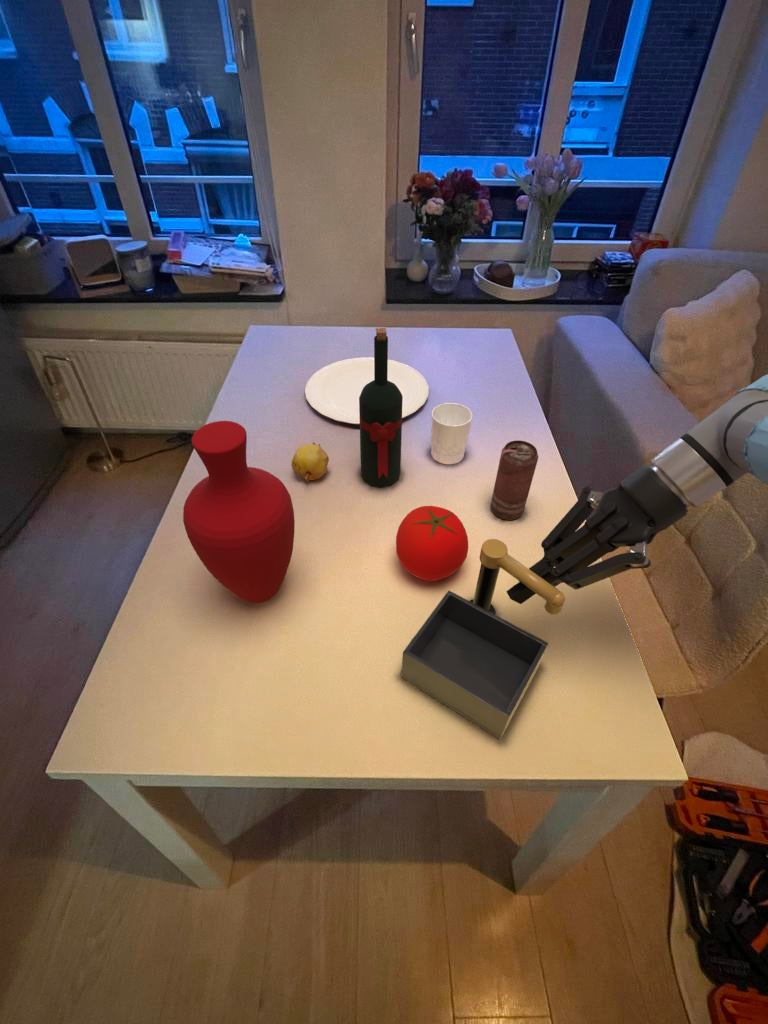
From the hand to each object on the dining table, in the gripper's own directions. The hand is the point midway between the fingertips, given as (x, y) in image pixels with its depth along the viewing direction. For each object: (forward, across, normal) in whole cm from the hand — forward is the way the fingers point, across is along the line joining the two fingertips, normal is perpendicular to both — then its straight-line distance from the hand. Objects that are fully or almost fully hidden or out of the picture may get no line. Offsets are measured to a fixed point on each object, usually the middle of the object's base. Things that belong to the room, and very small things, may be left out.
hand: (513, 597), depth 71 cm
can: (-1, +25, -16) cm, 29 cm away
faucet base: (+8, +4, -6) cm, 11 cm away
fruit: (+23, +44, +8) cm, 50 cm away
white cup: (+3, +43, -13) cm, 45 cm away
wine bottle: (+14, +39, -2) cm, 41 cm away
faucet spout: (-2, +1, +1) cm, 3 cm away
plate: (+11, +69, -6) cm, 70 cm away
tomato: (+12, +16, -3) cm, 20 cm away
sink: (+12, -4, -2) cm, 13 cm away
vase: (+31, +18, +17) cm, 40 cm away
